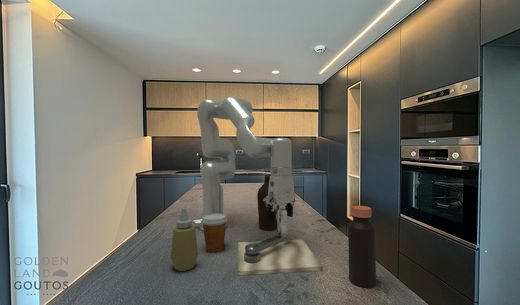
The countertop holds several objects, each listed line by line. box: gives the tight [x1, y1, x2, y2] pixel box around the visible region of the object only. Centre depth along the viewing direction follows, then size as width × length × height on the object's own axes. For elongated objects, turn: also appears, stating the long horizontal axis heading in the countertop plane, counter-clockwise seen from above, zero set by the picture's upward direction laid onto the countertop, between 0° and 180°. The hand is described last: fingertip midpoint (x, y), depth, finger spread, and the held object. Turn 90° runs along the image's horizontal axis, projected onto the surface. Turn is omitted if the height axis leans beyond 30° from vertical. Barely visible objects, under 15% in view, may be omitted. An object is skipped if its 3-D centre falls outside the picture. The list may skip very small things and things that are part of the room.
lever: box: [245, 207, 288, 256], centre depth 81 cm, size 19×4×12 cm, turn 135°
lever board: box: [237, 239, 324, 276], centre depth 80 cm, size 25×22×3 cm
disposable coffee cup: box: [201, 213, 229, 253], centre depth 87 cm, size 10×10×12 cm
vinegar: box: [347, 205, 377, 289], centre depth 64 cm, size 7×7×20 cm
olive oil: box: [256, 173, 280, 231], centre depth 111 cm, size 11×11×25 cm
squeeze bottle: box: [170, 208, 199, 272], centre depth 74 cm, size 8×8×18 cm
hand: (280, 218), depth 87 cm, fingers open, 9 cm apart
